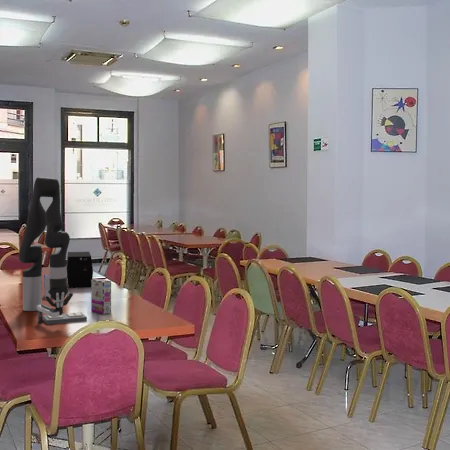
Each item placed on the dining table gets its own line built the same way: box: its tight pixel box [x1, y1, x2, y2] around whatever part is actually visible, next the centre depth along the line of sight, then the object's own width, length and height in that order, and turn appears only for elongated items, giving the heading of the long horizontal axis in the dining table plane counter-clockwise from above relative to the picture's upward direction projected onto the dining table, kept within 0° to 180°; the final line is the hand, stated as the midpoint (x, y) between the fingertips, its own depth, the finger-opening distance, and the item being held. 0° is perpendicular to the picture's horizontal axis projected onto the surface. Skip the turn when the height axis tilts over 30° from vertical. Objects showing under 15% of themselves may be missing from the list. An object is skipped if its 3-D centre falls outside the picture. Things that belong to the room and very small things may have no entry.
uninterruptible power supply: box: [66, 251, 94, 289], centre depth 389 cm, size 16×34×20 cm, turn 15°
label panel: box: [43, 311, 88, 326], centre depth 278 cm, size 12×18×3 cm, turn 116°
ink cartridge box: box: [43, 274, 50, 296], centre depth 346 cm, size 10×6×14 cm, turn 114°
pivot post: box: [37, 310, 44, 324], centre depth 274 cm, size 2×2×6 cm
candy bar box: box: [90, 278, 112, 315], centre depth 297 cm, size 11×5×16 cm, turn 45°
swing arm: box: [37, 303, 59, 317], centre depth 266 cm, size 22×3×3 cm, turn 36°
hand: (59, 315), depth 265 cm, fingers closed
